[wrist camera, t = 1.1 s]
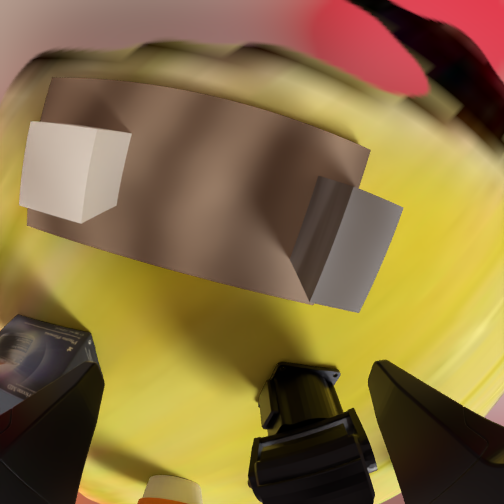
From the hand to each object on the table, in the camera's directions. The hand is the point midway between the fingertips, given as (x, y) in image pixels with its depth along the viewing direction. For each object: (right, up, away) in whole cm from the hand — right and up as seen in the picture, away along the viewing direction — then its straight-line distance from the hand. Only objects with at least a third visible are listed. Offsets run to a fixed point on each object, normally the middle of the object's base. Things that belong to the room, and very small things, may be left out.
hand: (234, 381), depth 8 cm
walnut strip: (-5, +9, +11) cm, 15 cm away
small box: (-20, -6, +15) cm, 26 cm away
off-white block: (-10, +10, +9) cm, 17 cm away
